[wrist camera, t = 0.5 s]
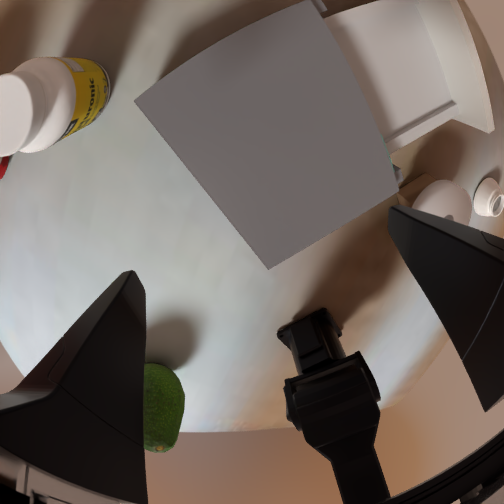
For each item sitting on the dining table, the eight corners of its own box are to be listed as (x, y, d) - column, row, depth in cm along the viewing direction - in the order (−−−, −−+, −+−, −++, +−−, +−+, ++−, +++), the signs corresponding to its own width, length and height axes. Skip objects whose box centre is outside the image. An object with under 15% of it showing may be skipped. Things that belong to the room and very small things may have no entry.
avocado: (186, 381, 37) (189, 460, 27) (132, 379, 35) (127, 456, 25) (182, 349, 32) (184, 443, 22) (119, 346, 31) (107, 437, 21)
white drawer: (454, 111, 19) (497, 128, 15) (359, 165, 22) (396, 193, 17) (404, -14, 12) (448, -23, 8) (282, 24, 15) (309, 8, 10)
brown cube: (432, 203, 25) (452, 220, 23) (404, 222, 26) (423, 240, 23) (425, 172, 23) (448, 187, 20) (395, 191, 24) (416, 208, 21)
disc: (463, 223, 23) (472, 232, 22) (413, 258, 24) (422, 269, 23) (456, 166, 19) (468, 173, 18) (399, 203, 21) (411, 213, 19)
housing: (374, 160, 22) (409, 184, 18) (256, 231, 24) (268, 269, 20) (296, 10, 14) (324, -7, 10) (151, 94, 17) (133, 100, 13)
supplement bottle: (90, 139, 18) (21, 190, 10) (40, 111, 15) (-43, 147, 7) (126, 76, 16) (64, 80, 8) (72, 48, 13) (-11, 45, 5)
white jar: (493, 202, 27) (493, 170, 24) (507, 213, 25) (509, 180, 22) (471, 218, 28) (470, 185, 25) (486, 230, 25) (487, 197, 23)
